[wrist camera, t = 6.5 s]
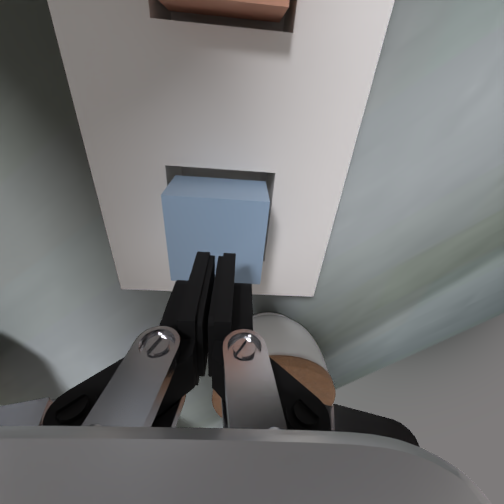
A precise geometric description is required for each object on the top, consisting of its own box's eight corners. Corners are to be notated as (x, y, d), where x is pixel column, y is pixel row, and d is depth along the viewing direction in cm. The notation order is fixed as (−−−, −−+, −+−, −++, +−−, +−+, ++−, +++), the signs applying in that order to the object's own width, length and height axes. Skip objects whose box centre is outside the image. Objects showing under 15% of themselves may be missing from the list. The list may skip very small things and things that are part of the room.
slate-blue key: (175, 175, 14) (160, 195, 12) (265, 181, 15) (270, 202, 12) (181, 251, 17) (170, 280, 15) (257, 255, 17) (260, 284, 15)
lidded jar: (261, 371, 33) (267, 461, 25) (198, 330, 29) (181, 424, 21) (334, 332, 30) (366, 423, 22) (274, 278, 25) (288, 368, 17)
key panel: (49, -283, 10) (-96, -552, 6) (405, -221, 11) (508, -414, 7) (143, 251, 23) (121, 289, 19) (301, 258, 24) (313, 296, 20)
